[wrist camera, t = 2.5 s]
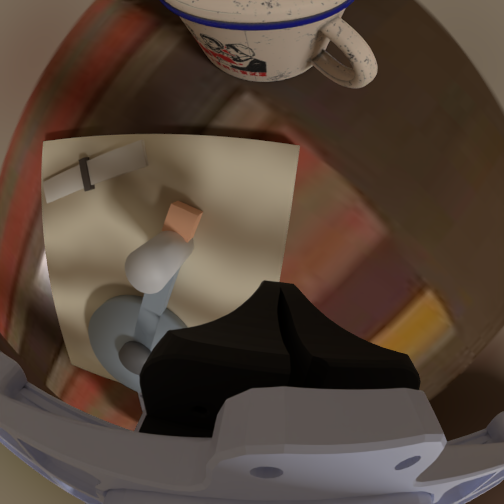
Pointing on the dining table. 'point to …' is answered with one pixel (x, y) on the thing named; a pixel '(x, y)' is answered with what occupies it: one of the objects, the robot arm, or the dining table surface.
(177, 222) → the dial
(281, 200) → the cream flat board
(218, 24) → the teacup with lid
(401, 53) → the dining table surface
